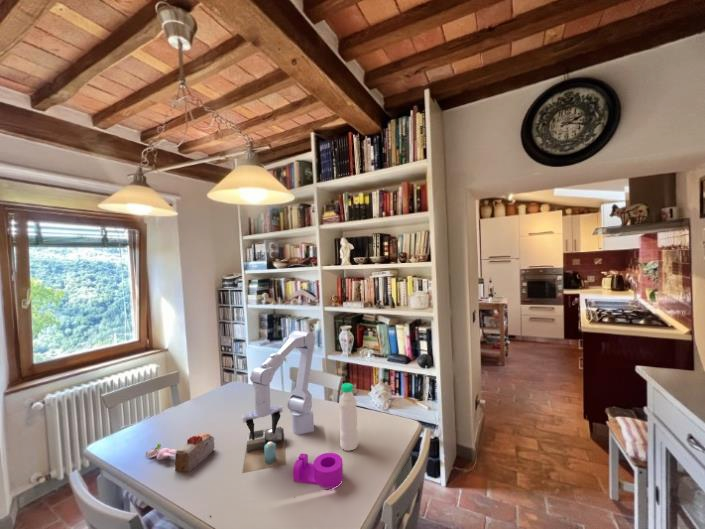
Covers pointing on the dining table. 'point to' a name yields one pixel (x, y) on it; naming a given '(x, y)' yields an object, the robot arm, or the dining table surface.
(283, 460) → the mounting board
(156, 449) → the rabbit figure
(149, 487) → the dining table surface
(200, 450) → the food item
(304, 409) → the robot arm
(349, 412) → the water bottle
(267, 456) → the blue bottle white cap
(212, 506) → the dining table surface
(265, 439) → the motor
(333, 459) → the tape dispenser
